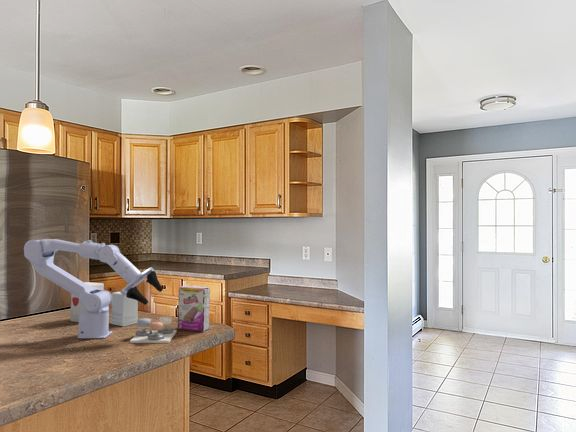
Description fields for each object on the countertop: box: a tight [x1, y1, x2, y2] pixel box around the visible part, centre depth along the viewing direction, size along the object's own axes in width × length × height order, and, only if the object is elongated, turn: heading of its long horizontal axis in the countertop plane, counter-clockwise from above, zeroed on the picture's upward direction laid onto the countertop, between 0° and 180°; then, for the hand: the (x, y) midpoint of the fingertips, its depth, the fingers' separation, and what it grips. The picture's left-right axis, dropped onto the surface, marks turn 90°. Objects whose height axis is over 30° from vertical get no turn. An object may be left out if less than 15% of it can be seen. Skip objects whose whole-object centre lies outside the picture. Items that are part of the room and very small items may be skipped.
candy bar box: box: [177, 284, 211, 332], centre depth 164 cm, size 11×5×16 cm, turn 74°
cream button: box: [158, 316, 173, 326], centre depth 157 cm, size 5×5×2 cm
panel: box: [129, 326, 178, 344], centre depth 152 cm, size 13×14×3 cm
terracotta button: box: [148, 321, 164, 331], centre depth 148 cm, size 5×5×2 cm
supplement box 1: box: [69, 281, 105, 323], centre depth 176 cm, size 9×9×15 cm
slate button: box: [136, 317, 152, 328], centre depth 153 cm, size 5×5×2 cm
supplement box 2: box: [110, 290, 139, 327], centre depth 171 cm, size 7×7×13 cm
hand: (154, 296), depth 152 cm, fingers open, 7 cm apart
